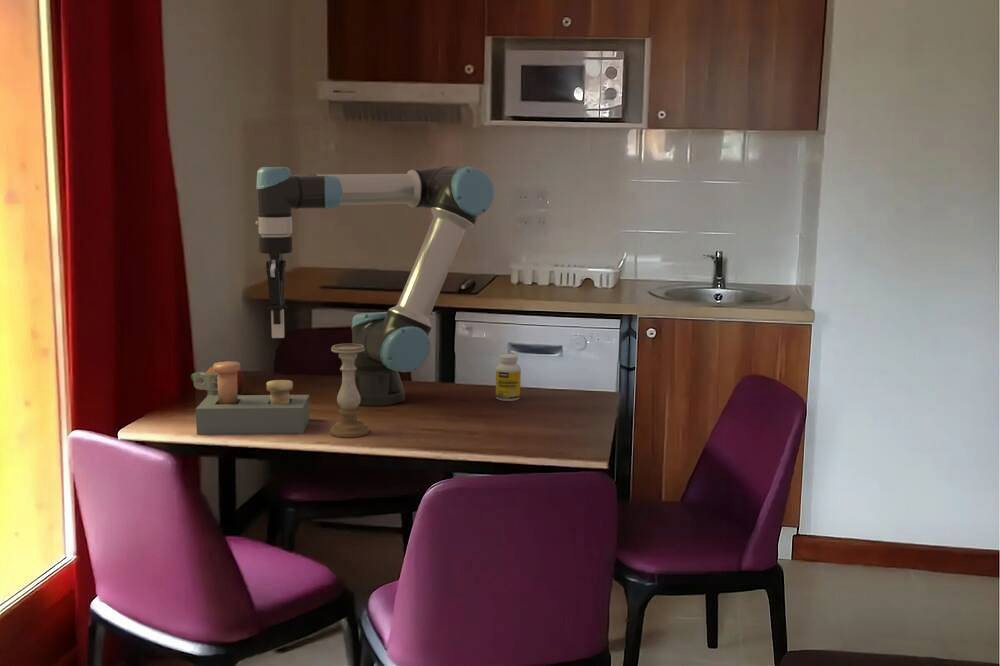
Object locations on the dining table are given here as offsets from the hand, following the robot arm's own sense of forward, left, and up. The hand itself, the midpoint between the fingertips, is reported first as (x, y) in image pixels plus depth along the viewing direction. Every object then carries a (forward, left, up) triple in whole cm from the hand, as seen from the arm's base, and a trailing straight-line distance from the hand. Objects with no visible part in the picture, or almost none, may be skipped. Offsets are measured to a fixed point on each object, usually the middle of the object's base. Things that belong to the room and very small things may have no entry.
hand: (278, 337), depth 236 cm
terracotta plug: (+12, 0, -16) cm, 20 cm away
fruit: (+18, -29, -22) cm, 40 cm away
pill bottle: (-56, -26, -22) cm, 65 cm away
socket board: (+6, 0, -21) cm, 22 cm away
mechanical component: (+18, -13, -22) cm, 31 cm away
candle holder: (-16, +7, -22) cm, 28 cm away
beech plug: (0, 0, -20) cm, 20 cm away
